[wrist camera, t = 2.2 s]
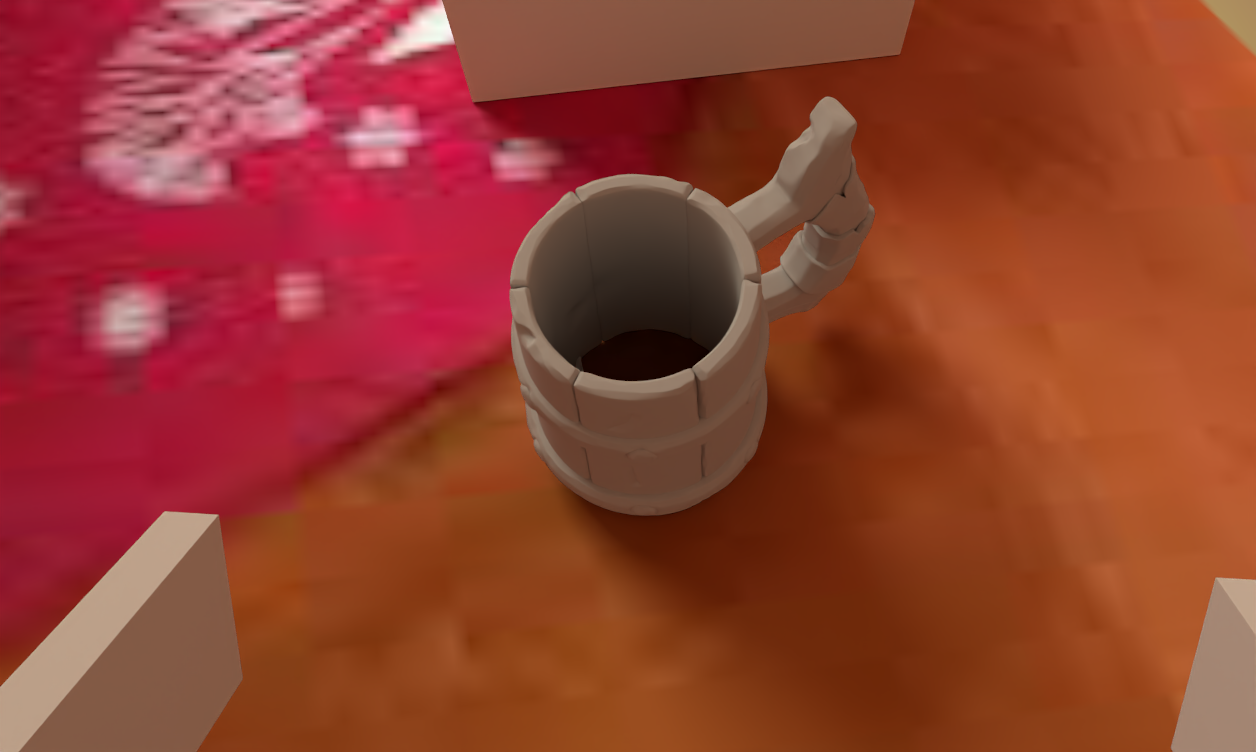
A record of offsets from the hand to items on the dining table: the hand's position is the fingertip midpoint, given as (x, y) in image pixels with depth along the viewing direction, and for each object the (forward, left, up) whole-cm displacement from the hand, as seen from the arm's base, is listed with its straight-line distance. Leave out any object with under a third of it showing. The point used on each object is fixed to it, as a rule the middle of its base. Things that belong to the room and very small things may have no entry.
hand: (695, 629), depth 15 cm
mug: (+2, +11, -20) cm, 23 cm away
